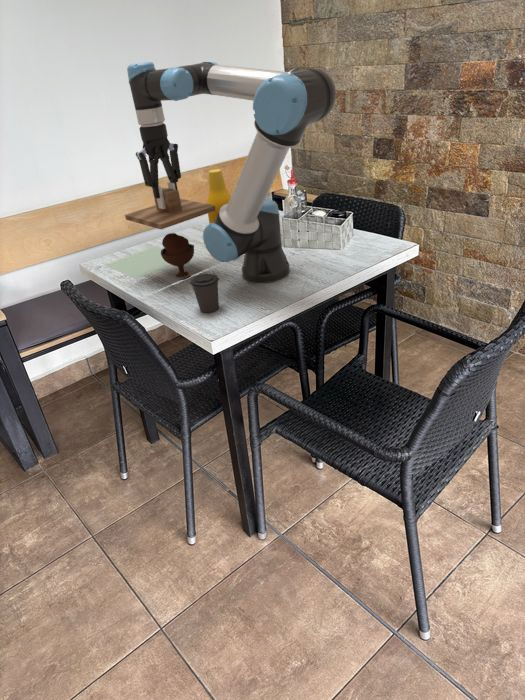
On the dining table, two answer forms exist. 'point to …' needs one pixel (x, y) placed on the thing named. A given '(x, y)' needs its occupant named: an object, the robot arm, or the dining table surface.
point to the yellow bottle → (217, 193)
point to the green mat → (140, 263)
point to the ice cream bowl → (177, 252)
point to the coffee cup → (206, 292)
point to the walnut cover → (169, 211)
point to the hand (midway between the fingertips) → (168, 206)
